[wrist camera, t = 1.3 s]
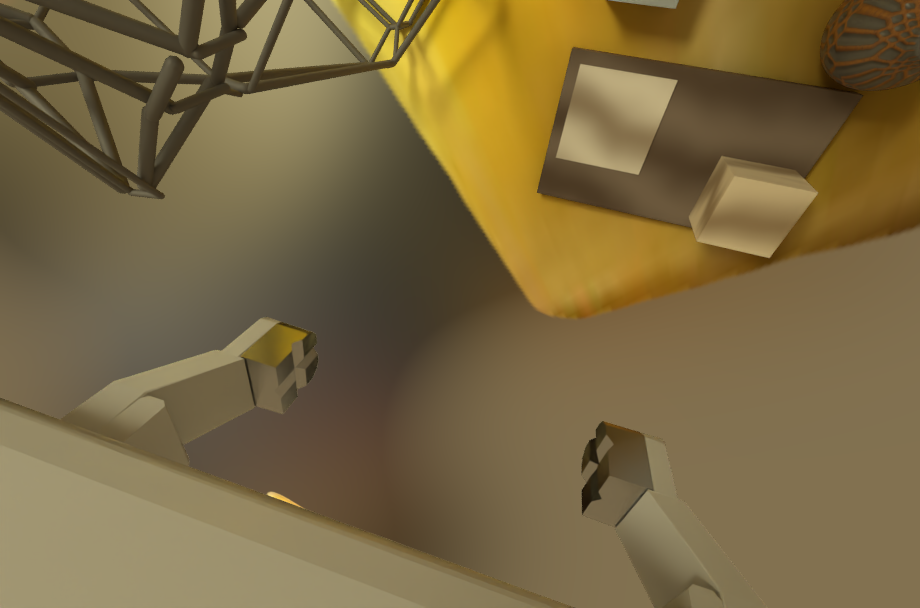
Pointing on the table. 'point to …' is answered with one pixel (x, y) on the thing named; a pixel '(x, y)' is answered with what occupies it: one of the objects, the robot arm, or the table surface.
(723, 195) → the block
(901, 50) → the vase
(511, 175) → the table surface
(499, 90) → the table surface
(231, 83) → the geometric lantern
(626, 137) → the board
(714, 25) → the table surface
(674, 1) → the top block
